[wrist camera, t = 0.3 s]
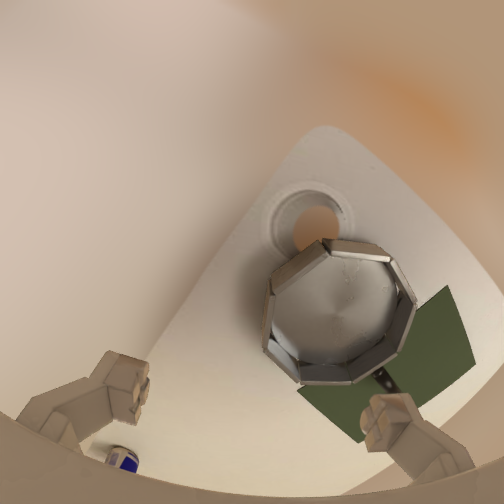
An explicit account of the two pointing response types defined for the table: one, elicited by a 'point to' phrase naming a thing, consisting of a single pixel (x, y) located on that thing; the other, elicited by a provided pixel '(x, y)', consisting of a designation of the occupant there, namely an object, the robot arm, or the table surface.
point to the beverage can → (122, 459)
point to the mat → (405, 366)
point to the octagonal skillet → (337, 314)
